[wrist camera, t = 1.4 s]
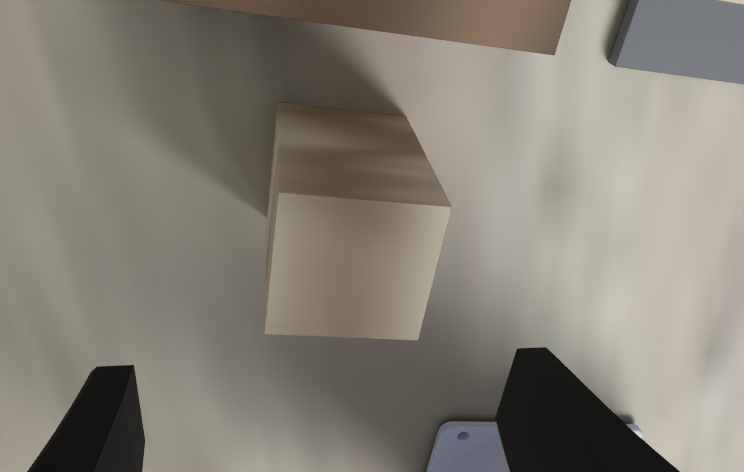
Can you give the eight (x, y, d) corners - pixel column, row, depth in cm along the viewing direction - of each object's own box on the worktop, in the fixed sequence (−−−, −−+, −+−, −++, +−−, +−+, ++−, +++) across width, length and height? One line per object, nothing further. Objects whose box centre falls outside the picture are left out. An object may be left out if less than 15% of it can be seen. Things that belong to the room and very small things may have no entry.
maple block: (406, 116, 20) (451, 207, 15) (384, 226, 22) (418, 340, 17) (277, 101, 19) (278, 192, 14) (266, 217, 21) (264, 333, 16)
